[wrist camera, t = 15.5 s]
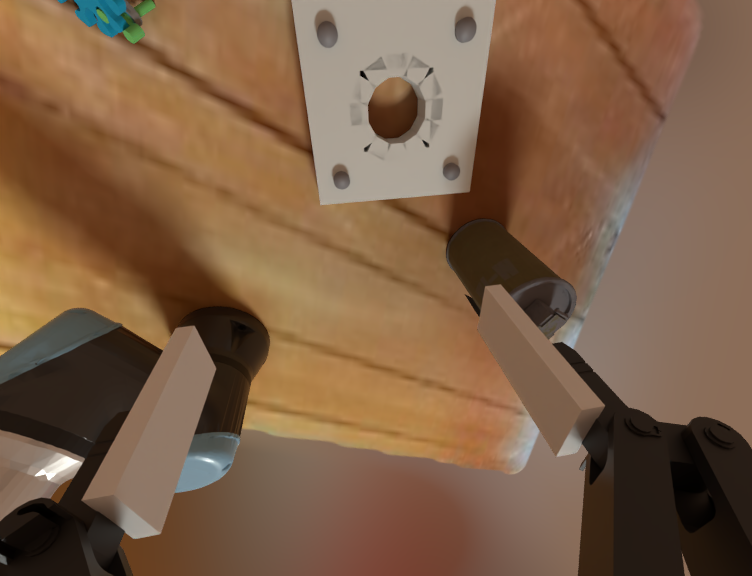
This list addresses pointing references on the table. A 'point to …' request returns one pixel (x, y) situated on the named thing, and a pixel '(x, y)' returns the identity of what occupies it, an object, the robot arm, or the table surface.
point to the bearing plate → (377, 63)
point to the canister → (509, 274)
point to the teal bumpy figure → (114, 16)
